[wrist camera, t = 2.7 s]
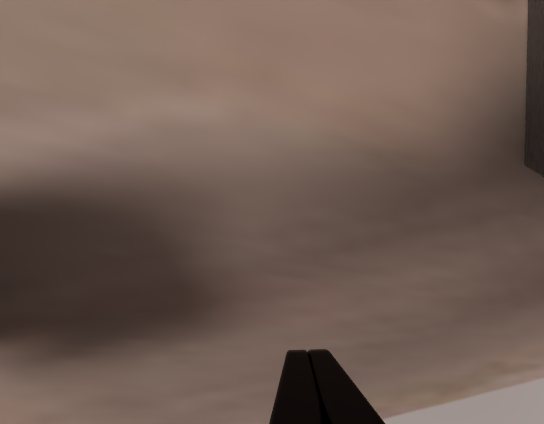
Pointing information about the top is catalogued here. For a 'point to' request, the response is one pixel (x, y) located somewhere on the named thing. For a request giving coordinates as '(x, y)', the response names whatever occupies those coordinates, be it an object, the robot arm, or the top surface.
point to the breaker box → (535, 88)
